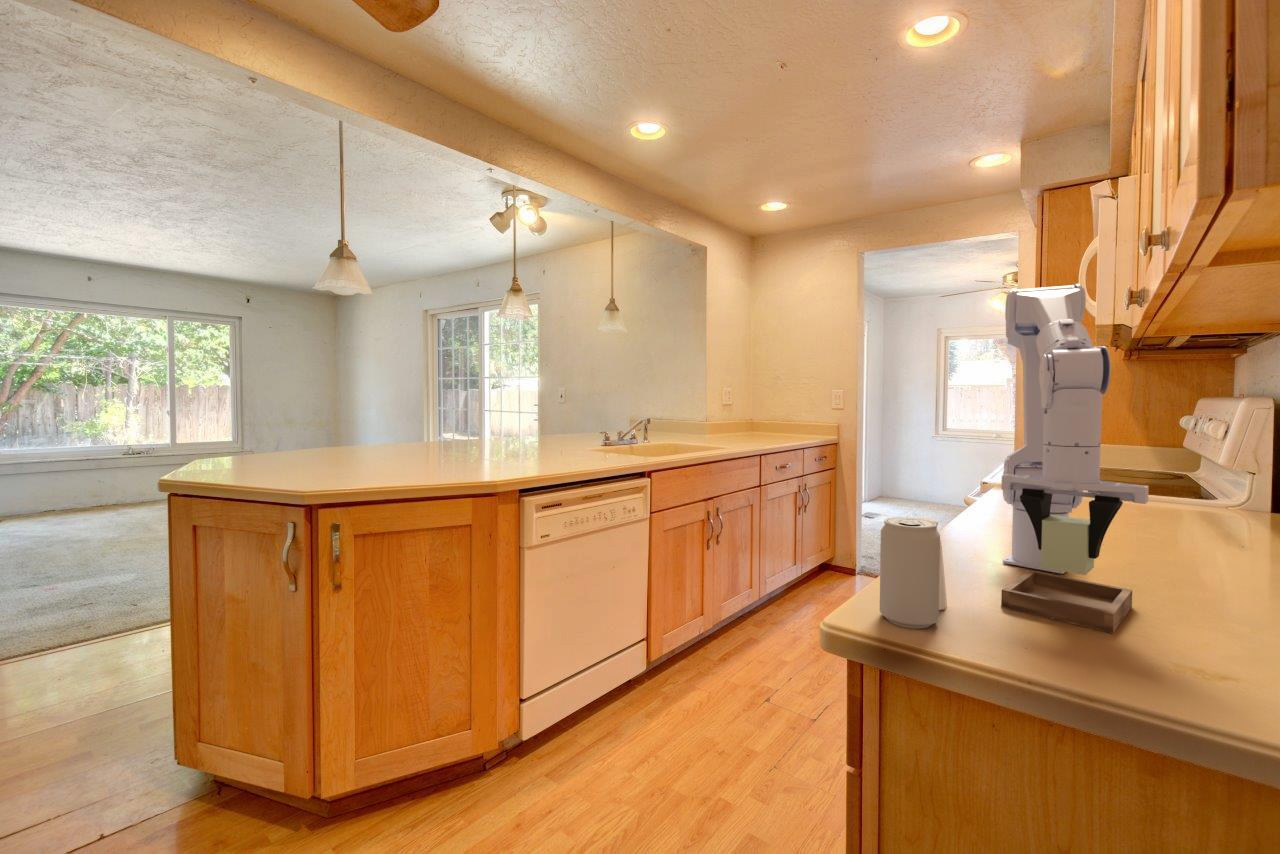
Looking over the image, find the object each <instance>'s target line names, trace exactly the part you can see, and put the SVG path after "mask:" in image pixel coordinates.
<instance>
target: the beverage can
mask: <svg viewBox="0 0 1280 854" xmlns="http://www.w3.org/2000/svg"><path fill="white" fill-rule="evenodd" d="M917 518H918V517H917ZM917 518H914V517H901V516H900V517H897V516H896V517H887V518H885V519H884V521H883V523H884V525H883V526H882V528H881V529H880V555H879V556H880V558H879V560H880V561H879V562H880V563H879V612H880V614H881V615H882V616H883V617H884V618H886V620H887V621H888V622H890V623H892V625H896V626H898V627H903V628H907V629H920V630H921V629H926V628H929V627H930V626H932V625H934V624H936V623H937V622H938V621H939V616H940V615H939V613H940V610H939V571H940V540H941V534H940V533H939V530H938V529H937V530H936V527H937V528H938V525H937V524H936V523H934V522H932V521H928V520H923V519H917Z"/></svg>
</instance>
